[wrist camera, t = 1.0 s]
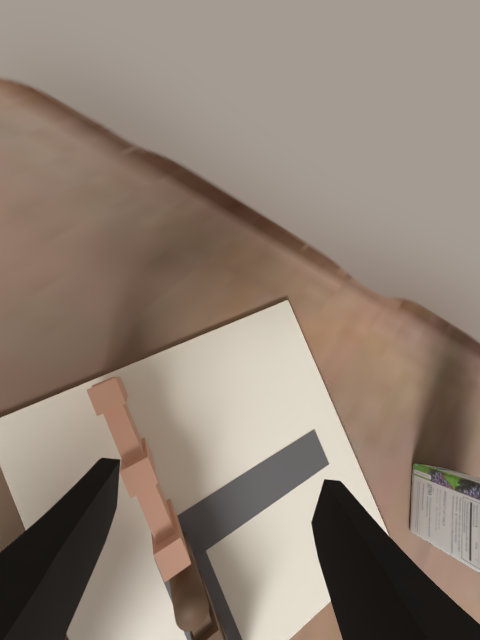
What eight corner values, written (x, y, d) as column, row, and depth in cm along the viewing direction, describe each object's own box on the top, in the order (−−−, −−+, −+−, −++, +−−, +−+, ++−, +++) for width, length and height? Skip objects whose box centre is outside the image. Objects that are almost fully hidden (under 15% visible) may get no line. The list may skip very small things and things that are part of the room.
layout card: (127, 779, 17) (127, 789, 17) (-13, 423, 18) (-17, 424, 17) (388, 541, 25) (393, 544, 25) (285, 300, 26) (288, 299, 25)
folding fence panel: (178, 519, 20) (192, 565, 15) (158, 532, 19) (165, 584, 14) (119, 375, 20) (114, 375, 15) (97, 384, 19) (85, 388, 15)
